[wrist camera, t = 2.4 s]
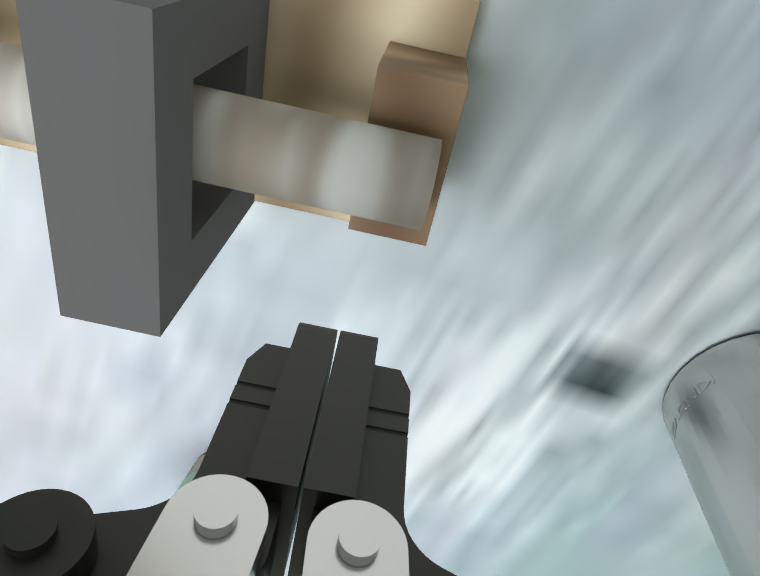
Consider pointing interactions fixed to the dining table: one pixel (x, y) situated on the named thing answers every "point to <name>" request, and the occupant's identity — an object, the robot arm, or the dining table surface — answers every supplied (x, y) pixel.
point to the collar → (133, 145)
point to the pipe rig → (322, 110)
